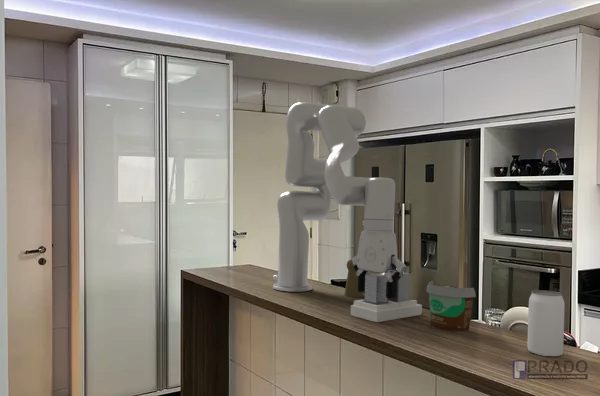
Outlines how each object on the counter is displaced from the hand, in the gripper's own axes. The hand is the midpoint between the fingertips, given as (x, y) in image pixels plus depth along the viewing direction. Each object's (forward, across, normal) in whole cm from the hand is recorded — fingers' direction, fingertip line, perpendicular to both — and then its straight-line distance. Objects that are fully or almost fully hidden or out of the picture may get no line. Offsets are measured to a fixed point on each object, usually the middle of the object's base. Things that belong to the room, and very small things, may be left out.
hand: (376, 294), depth 134 cm
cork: (+6, -24, +16) cm, 30 cm away
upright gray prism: (+3, 0, 0) cm, 3 cm away
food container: (+6, +16, +6) cm, 18 cm away
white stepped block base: (+6, 0, +4) cm, 7 cm away
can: (+6, +40, +6) cm, 41 cm away
